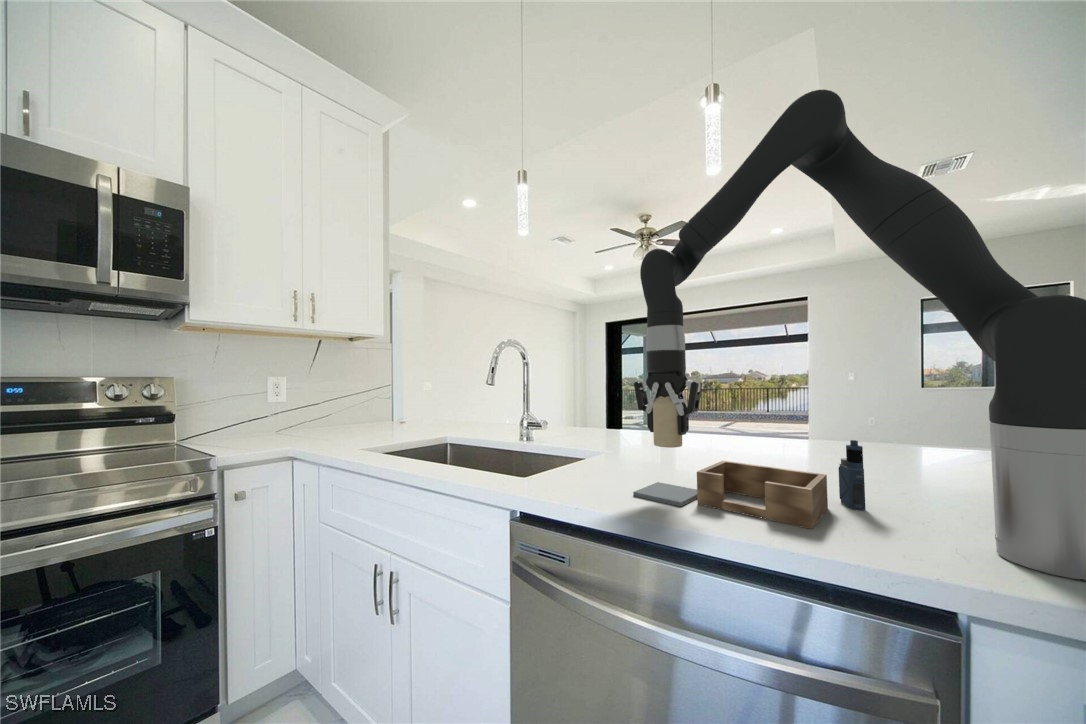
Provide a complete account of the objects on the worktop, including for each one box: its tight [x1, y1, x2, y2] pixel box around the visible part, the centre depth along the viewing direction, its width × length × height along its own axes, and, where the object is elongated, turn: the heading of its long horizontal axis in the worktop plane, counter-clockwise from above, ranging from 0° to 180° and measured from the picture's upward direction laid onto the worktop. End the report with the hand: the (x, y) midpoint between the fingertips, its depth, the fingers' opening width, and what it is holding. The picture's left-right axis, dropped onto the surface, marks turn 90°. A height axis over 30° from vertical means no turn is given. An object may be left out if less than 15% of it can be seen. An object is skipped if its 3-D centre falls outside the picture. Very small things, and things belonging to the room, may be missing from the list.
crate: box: [696, 460, 829, 530], centre depth 73 cm, size 18×13×6 cm
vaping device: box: [838, 439, 867, 511], centre depth 72 cm, size 3×5×12 cm, turn 166°
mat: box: [632, 481, 697, 507], centre depth 80 cm, size 10×10×1 cm
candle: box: [652, 396, 683, 449], centre depth 80 cm, size 6×6×10 cm
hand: (667, 432), depth 80 cm, fingers closed on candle, 5 cm apart
